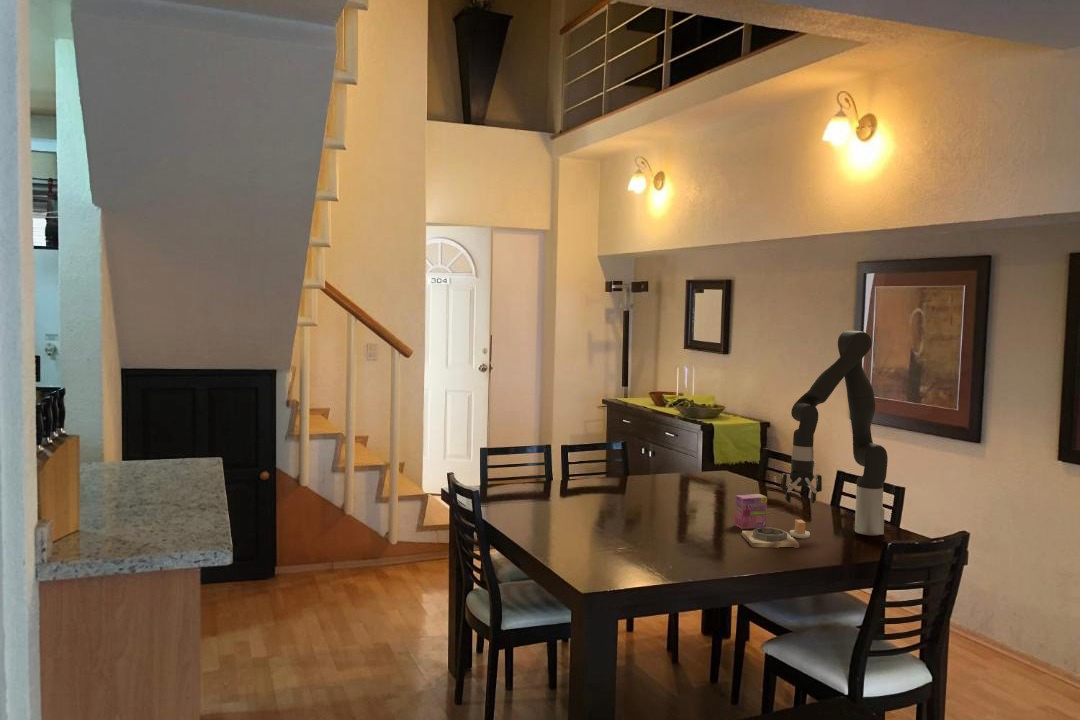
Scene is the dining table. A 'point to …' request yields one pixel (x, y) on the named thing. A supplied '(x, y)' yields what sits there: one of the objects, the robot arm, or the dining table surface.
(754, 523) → the box
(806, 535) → the white disc orange handle
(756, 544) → the board
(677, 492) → the dining table surface
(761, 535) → the grey octagonal ring
